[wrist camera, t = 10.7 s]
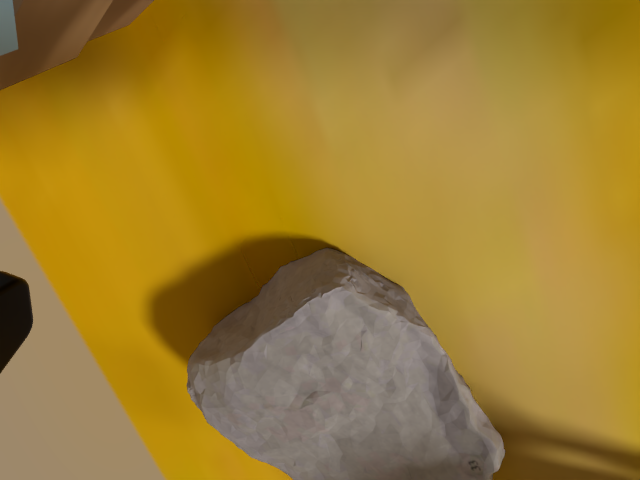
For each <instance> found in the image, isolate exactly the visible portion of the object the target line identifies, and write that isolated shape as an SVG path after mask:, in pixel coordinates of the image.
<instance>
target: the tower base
mask: <svg viewBox="0 0 640 480" xmlns="http://www.w3.org/2000/svg"><path fill="white" fill-rule="evenodd" d="M153 1H154V0H113V1H112V3H111V4H110V6H109V7H108V9H107V11H106V12H105V14H104V15H103V17H102V18H101V20H100V22H99V23H98V25H97V26H96V28H95V30H94V31H93V33H92V34H91V36H90V37H89V39H88V41H90V40H92V39H95V38H97V37H100V36H102V35H105V34H107V33H110V32H112V31H115V30H117V29H120V28H122V27H125V26H127V25H129V24H130V23H131V22H132V21H133V20H134V19H135V18H136V17H137V16H138V15H139V14H140V13H141V12H142V11H143V10H144V9H145V8H147V7H148V6H149V5H150V4H151V3H152V2H153Z"/></svg>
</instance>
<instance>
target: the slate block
mask: <svg viewBox="0 0 640 480" xmlns="http://www.w3.org/2000/svg"><path fill="white" fill-rule="evenodd" d="M17 49H18V41H17V33H16V24H15V16H14V8H13V0H0V56H1V55H4V54H6V53H9V52H12V51H14V50H17Z"/></svg>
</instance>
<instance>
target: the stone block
mask: <svg viewBox="0 0 640 480" xmlns="http://www.w3.org/2000/svg"><path fill="white" fill-rule="evenodd" d="M187 372H188V382H187V390H188V393H189V394H190V396H191V400H193V401H194V402H195V404H196V406H197V407H198V408H199V409H200V410H201V411H202V412H203V415H204V417H205V419H206V420H207V422H208V423H209V424H210V425H211V426H213V427H214V428H215V429H217V430H218V431H219V432H220V433H221V434H222V435H223V436H224V437H226V438H227V439H229V440H230V441H232V442H233V443H234V444H235V445H236V446H237V447H238V448H240V449H242V450H243V451H244V452H246V453H247V454H248V455H249V456H250V457H252V458H255V459H257V460H259V461H262V462H266V463H268V464H270V465H272V466H274V467H277V468H279V469H280V470H282V471H283V472H285V473H286V474H288V475H289V476H290V477H291V478H292V479H294V480H492V478H493V473H494V472H496V471H498V470H499V468H500V465H501V463H502V460H503V458H504V456H505V449H504V446H503V441H502V438H501V435H500V434H499V433H498V432H497V431H496V430H495V428H494V427H493V425H492V424H491V422H490V420H489V419H488V417H487V416H486V415H485V414H484V412H483V411H482V410H481V408H480V407H479V405H478V404H477V403H476V401H475V400H474V398H473V396H472V395H471V392H470V388H469V387H468V386H467V384H466V383H465V381H464V379H463V377H462V376H461V375H460V374H458V372H457V371H456V370H455V368H454V366H453V364H452V361H451V359H450V357H449V356H448V355H447V353H446V352H445V350H444V349H443V348H442V347H441V346H440V344H439V342H438V340H437V337H436V335H435V334H433V332H432V330H431V329H430V328H429V327H428V326H427V324H426V323H425V322H424V320H423V319H422V317H421V316H420V315H419V313H418V312H417V310H416V309H415V307H414V305H413V303H412V301H411V298H410V296H409V295H408V294H407V292H406V291H405V290H404V288H403V287H402V286H400V285H398V284H395V283H393V282H391V281H390V280H388V279H386V278H385V277H383V276H382V275H380V274H379V273H377V272H376V271H374V270H373V269H371V268H369V267H367V266H366V265H364V264H362V263H360V262H358V261H357V260H356V259H354V258H353V257H351V256H348V255H346V254H344V253H342V252H340V251H337V250H334V249H331V248H325V249H322V250H318V251H316V252H314V253H313V254H311V255H309V256H306V257H304V258H301V259H299V260H296V261H292V262H290V263H289V264H287V265H284V266H282V267H280V268H279V270H278V272H277V273H276V274H275V275H274V276H273V278H272V279H271V280H270V281H269V282H268V283H267V284H265V285H263V287H262V289H261V291H260V293H259V295H258V296H257V297H255V298H254V299H252V300H251V301H250V302H248V303H245V304H243V305H242V306H241V307H238V308H237V309H236V310H235V311H233V312H232V313H231V314H229V315H228V316H226V317H225V318H224V319H223V320H221V321H220V322H219V323H218V324H216V325H215V326H214V327H213V329H212V332H211V333H210V334H208V336H207V337H206V338H205V339H204V340H203V341H202V342H200V344H199V346H198V347H197V349H196V350H195V351H194V353H193V354H192V355H191V356H190V359H189V362H188V368H187Z"/></svg>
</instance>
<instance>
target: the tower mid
mask: <svg viewBox="0 0 640 480" xmlns="http://www.w3.org/2000/svg"><path fill="white" fill-rule="evenodd" d="M112 1H113V0H13V8H14V16H15V24H16V33H17V41H18V49H17V50H14V51H12V52H9V53H6V54H4V55H1V56H0V90H2V89H4V88H6V87H9V86H11V85H13V84H16V83H18V82H20V81H23V80H25V79H27V78H30V77H32V76H34V75H37V74H39V73H41V72H44V71H46V70H48V69H51V68H53V67H56V66H58V65H60V64H63V63H65V62H67V61H70V60H72V59H74V58H77V56H78V55H79V53H80V52H81V50H82V49H83V47H84V45H85V44H86V42H87V41H88V39H89V37H90V36H91V34H92V33H93V31H94V30H95V28H96V26H97V25H98V23H99V22H100V20H101V18H102V17H103V15H104V14H105V12H106V11H107V9H108V7H109V6H110V4H111V3H112Z"/></svg>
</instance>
